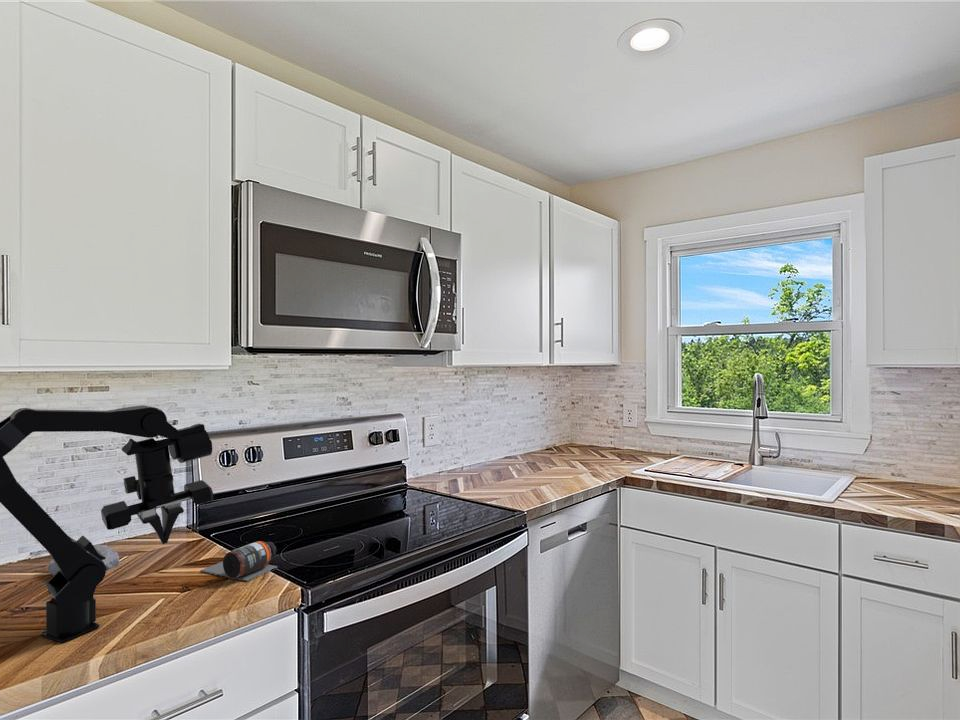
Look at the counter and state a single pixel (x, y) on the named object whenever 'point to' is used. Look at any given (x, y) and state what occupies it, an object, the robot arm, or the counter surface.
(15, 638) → the counter surface
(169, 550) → the counter surface
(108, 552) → the stone block
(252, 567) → the supplement bottle
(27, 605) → the counter surface
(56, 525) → the robot arm
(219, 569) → the pad
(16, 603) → the counter surface
